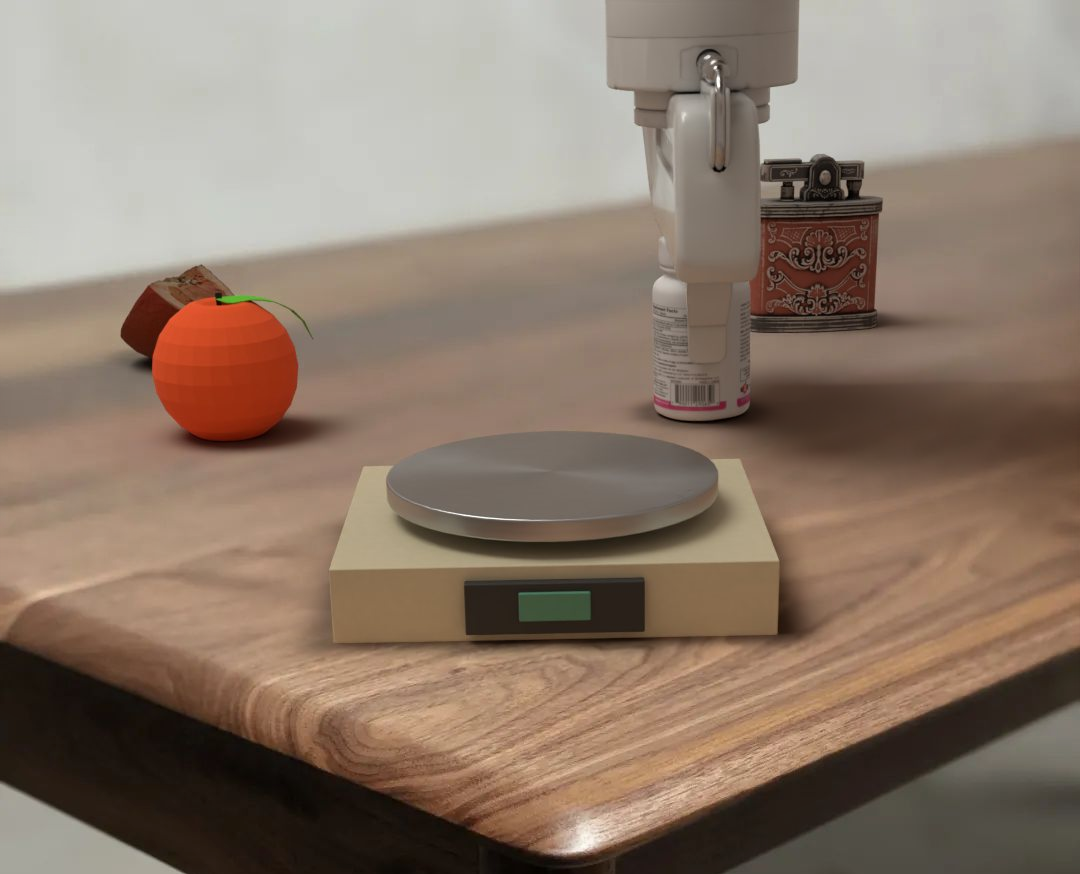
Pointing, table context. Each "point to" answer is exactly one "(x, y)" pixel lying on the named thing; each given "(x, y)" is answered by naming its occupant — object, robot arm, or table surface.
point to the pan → (552, 486)
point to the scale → (554, 577)
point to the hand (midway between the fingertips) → (701, 347)
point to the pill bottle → (684, 382)
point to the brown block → (167, 306)
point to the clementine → (225, 368)
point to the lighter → (816, 249)
